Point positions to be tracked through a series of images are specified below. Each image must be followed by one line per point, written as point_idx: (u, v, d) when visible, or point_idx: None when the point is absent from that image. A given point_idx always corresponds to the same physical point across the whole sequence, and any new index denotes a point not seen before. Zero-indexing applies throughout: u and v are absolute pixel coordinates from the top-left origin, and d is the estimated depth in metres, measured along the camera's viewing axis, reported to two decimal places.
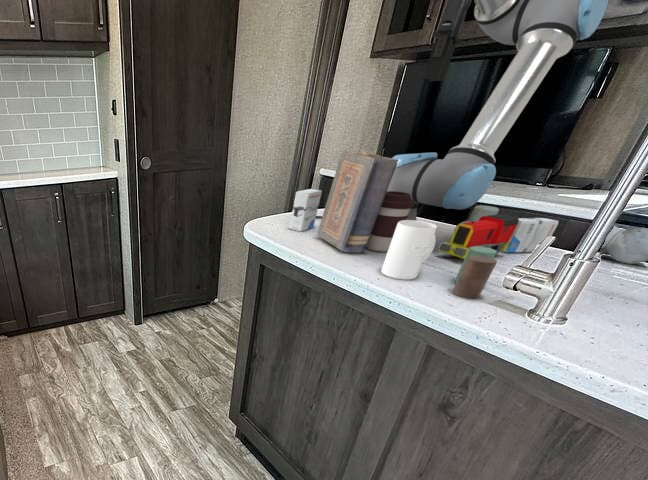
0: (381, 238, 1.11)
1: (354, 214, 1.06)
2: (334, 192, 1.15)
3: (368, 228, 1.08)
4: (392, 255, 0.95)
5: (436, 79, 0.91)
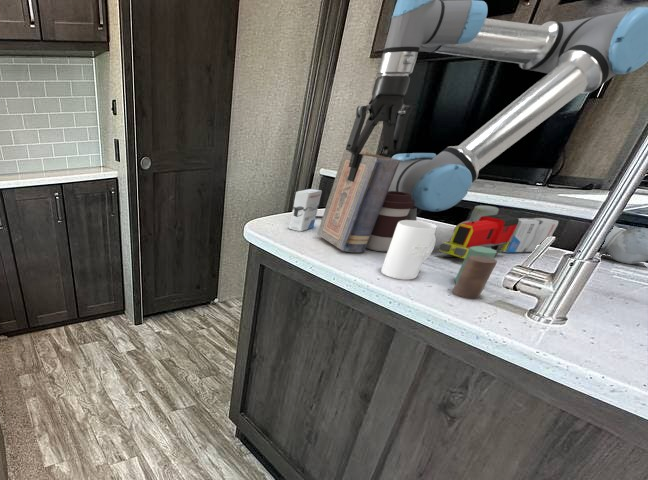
0: (381, 238, 1.11)
1: (355, 213, 1.06)
2: (335, 191, 1.15)
3: (368, 228, 1.08)
4: (392, 255, 0.95)
5: None
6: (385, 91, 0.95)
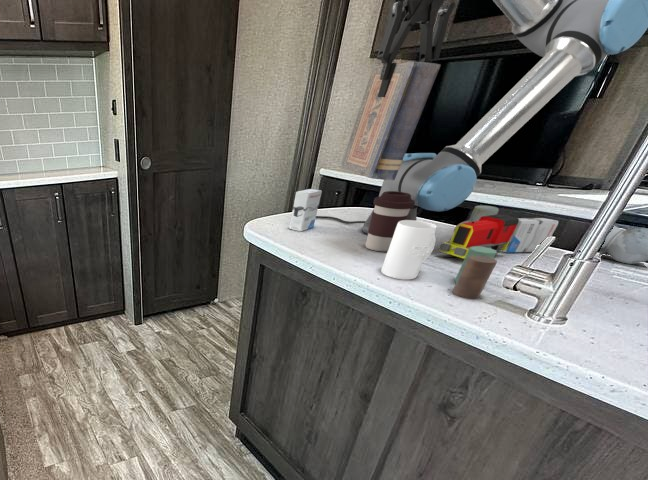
0: (381, 238, 1.11)
1: (387, 132, 0.94)
2: (362, 114, 1.03)
3: (401, 150, 0.96)
4: (392, 255, 0.95)
5: None
6: None
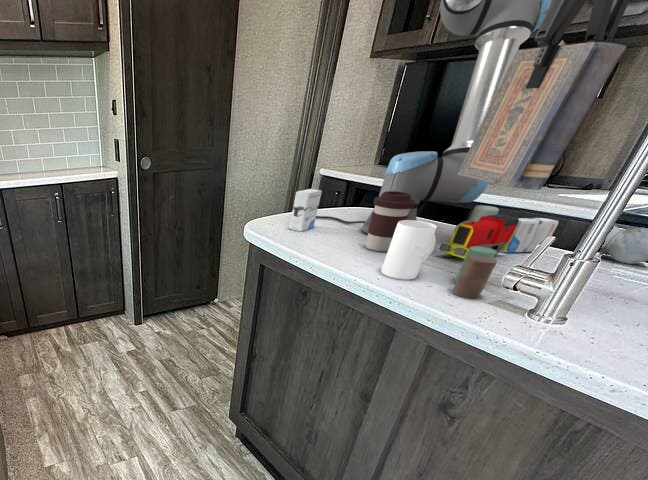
0: (381, 238, 1.11)
1: (542, 131, 0.77)
2: (497, 110, 0.85)
3: (557, 153, 0.78)
4: (392, 255, 0.95)
5: None
6: None
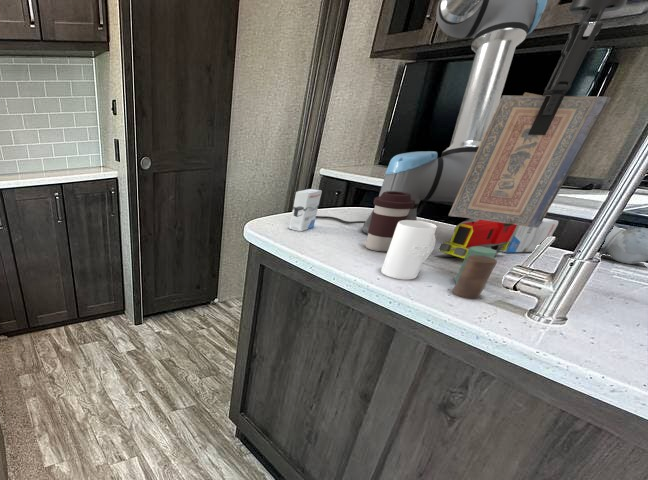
0: (381, 238, 1.11)
1: (561, 176, 0.80)
2: (492, 154, 0.85)
3: None
4: (392, 255, 0.95)
5: None
6: (620, 0, 0.68)
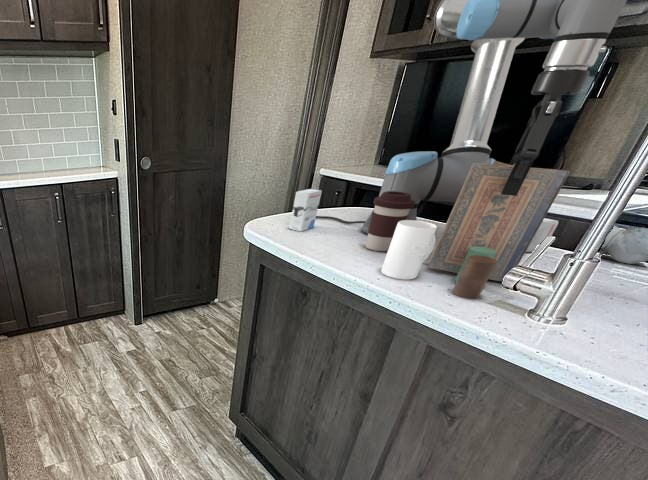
0: (381, 238, 1.11)
1: (527, 238, 0.87)
2: (465, 215, 0.92)
3: None
4: (392, 255, 0.95)
5: None
6: (575, 89, 0.75)
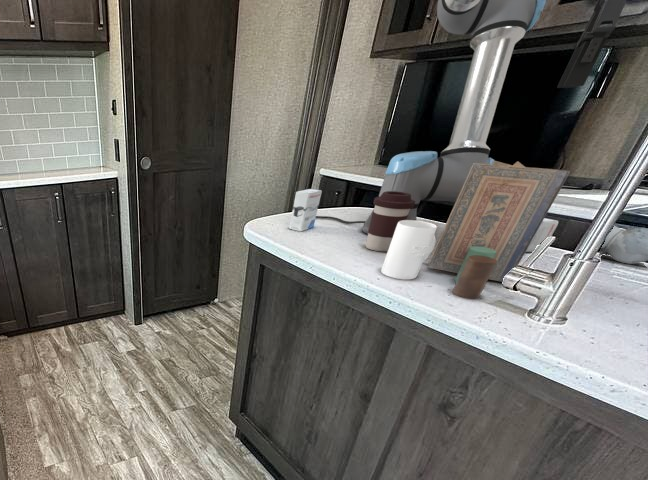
0: (381, 238, 1.11)
1: (527, 239, 0.87)
2: (465, 215, 0.92)
3: None
4: (392, 255, 0.95)
5: (565, 86, 0.82)
6: None
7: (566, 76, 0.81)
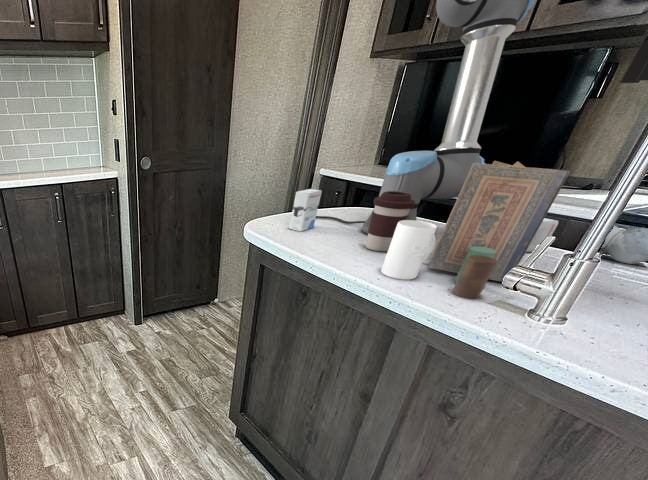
0: (381, 238, 1.11)
1: (527, 239, 0.87)
2: (465, 215, 0.92)
3: None
4: (392, 255, 0.95)
5: (630, 81, 0.80)
6: None
7: (631, 71, 0.79)
